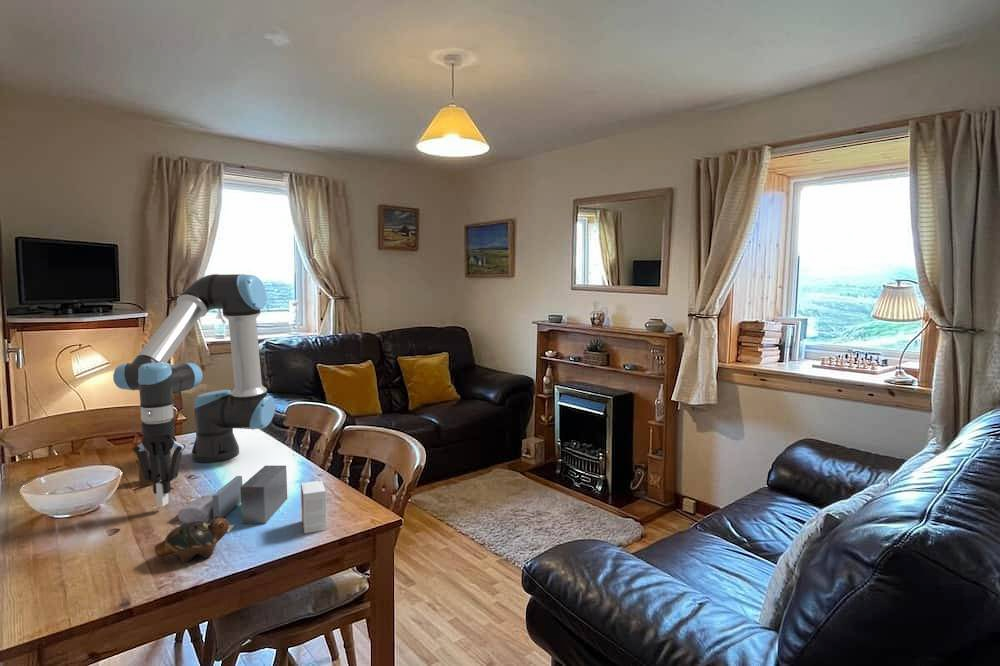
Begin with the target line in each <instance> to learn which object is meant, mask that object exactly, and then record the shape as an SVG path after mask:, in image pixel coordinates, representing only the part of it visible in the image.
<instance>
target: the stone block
mask: <svg viewBox="0 0 1000 666" xmlns="http://www.w3.org/2000/svg"><path fill="white" fill-rule="evenodd" d="M214 494H215V493H211V494H208V495H203V496H200V497H197V498H195V500H192V501H191V502H190V503H188V504H187V506H185V507H182V508H181V509H179V510H178V512H177V517H178V520H179V522H182V523H190V522H196V521H203V522H206V523H209V522H210V521H211V520H212V519H213V498H212V495H214Z"/></svg>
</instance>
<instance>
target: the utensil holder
mask: <svg viewBox="0 0 1000 666" xmlns="http://www.w3.org/2000/svg"><path fill="white" fill-rule="evenodd" d="M149 459H150V458H149ZM150 462H151V461H150ZM138 479H139V480H138V481H139V484H140V485H141V486H153V483H152V481H149V480H148V481H146V480H145V478H144V475H143V472H142V469H141V465H140V464H139V469H138ZM160 481H161V479H160Z"/></svg>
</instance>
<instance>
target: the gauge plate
mask: <svg viewBox="0 0 1000 666" xmlns="http://www.w3.org/2000/svg"><path fill="white" fill-rule="evenodd" d="M242 485H243V475H236V476H235V477H233V478H232V479H230V481H229V482H228V483H226V484H225V485H224V486H222V487H221V488H220V489H219V490H217V491H216V492H215V493H213V494H214V495H212V498H213V519H212V520H211V521H210V522H208V523H209V524H210V523H211V522H212V521H213V520H214V519H217V518H224V517H226V516H227V515H228V514H229V513H230V512H231V511H232V510H233V509H234V508H235V507H237V505H239V504H241V491H240V487H241V486H242ZM224 519H225V518H224Z"/></svg>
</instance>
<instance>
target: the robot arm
mask: <svg viewBox="0 0 1000 666" xmlns="http://www.w3.org/2000/svg"><path fill="white" fill-rule="evenodd" d="M267 298H268V297H267V290H266V287H265V285H264V283H263V282H262V280H261V279H260V278H259V277H257V276H256V275H253V274H244V273H242V274H240V273H239V274H237V273H236V274H234V273H233V274H216V273H214V274H207V275H205V276H203V277H200V278H199V279H197V280H195V281H194V282H192V283H191V284H190V285H189V286H187V287H186V288H185V289H184V290H183V291H182V293H181V294H179V295H178V297H177V299H176V305H175V307H174V308H173V309H172V310H171V312H170V313H169V314H168V315H167V317H166V318H165V319H164V321H163V322H162V323H161V325H160V326H159V328H157V330H156V331H155V332H154V334H152V336H151V338H149V339H148V342H146V344H145V345H144V346H143V348H142V349H141V351H140V352H139V353H138V354H137V356H136V357H135V358H134V359H133V360H132V361H131V363H129V362H127V363H121V364H120V365H118V366H117V367H116V368H115V369H114V371H113V375H112V376H113V377H112V378H113V382H114V384H115V386H116V387H117V388H119V389H121V390H125V391H126V390H127V391H128V390H129V391H138V392H139V401H140V403H139V404H140V407H139V408H140V421H141V435H142V440H141V443H139V444H138V445H136V446H134V447H133V448H132V450H133V452H134V453H135V455H136V456H137V459H138V462H139V466H140V465H141V466H140V467H141V469H142V472H143V475H144V478H145V480H146V481H148V480H149V481H152V483H153V485H152V488H153V491H152V492H153V494H155V495H156V507H158V508H159V507H160V508H161V507H165V506H166V505H167V504H168V503H169V493H170V492H171V490H172V488H171V481H173V480H175V479H176V478H177V477H178V475H179V469H180V465H181V459H182V456H183V452H184V450H185V448H187V447H186V444H184V443H182V444H181V443H179V442H178V441H177V438H176V437H175V429H176V428H175V419H173V418H174V417H175V413H174V410H175V409H174V394H178V393H182V392H185V391H190V390H192V389H193V388H196V387H197V386H199V385H200V384H201V383H202V381H203V377H204V376H203V370H202V368H201V367H200V366H199V365H198V364H196V363H193V362H183V363H180V364H170V363H169V361H170V359H171V357H172V356H173V355H174V354H175V352H176V351H177V350H178V348H179V346H180V345H181V344H182V342H183V341H184V340H185V338H186V336H188V334H189V332H190V331H191V330H192V329H193V327H194V326H195V324H196V323H197V322H198V320H199V319H200V318H202V317H205V316H206V315H207V314H208V312H209V311H212V310H215V309H216V310H219V309H220V310H222V317H224V318H225V319H227V322H228V327H229V329H228V330H229V340H230V350H231V351H230V352H231V361H232V372H233V381H234V382H233V383H234V388H233V389H232V390H230V389H219V390H214V391H209V392H204V393H202V394H199V395H196V397H194V407H193V409H194V417H195V418H194V419H195V421H194V422H195V440H194V443H193V447H192V450H191V460H192V461H193V462H197V463H216V462H217V463H218V462H222V461H228V460H230V459H234V458H235V457H237V456H239V454H240V446H239V444H238V442H237V439H236V437H235V434H234V429H244V430H246V429H247V430H261V429H265V428H267V426H269V425H270V423H272V420H273V418H274V416H275V412H276V400H275V399H274V397H273V396H271V395H268V389H267V387H265V386H264V385H263V384H262V372H261V359H260V349H259V347H260V346H259V336H258V325H257V318H258V317H259V316H260V315H261V310H262V309H264V308H265V306H266V303H267V302H266V301H267ZM171 451H173V452H171ZM171 453H172V454H171ZM171 455H172V457H171ZM149 458H150V459H149ZM150 461H151V462H150ZM160 479H161V481H160Z"/></svg>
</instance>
